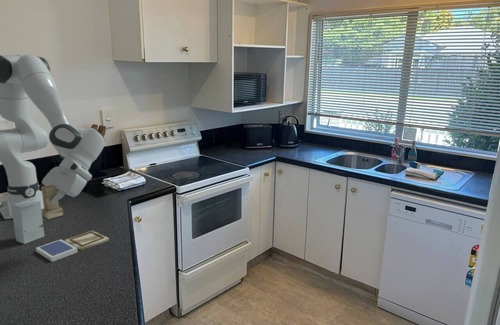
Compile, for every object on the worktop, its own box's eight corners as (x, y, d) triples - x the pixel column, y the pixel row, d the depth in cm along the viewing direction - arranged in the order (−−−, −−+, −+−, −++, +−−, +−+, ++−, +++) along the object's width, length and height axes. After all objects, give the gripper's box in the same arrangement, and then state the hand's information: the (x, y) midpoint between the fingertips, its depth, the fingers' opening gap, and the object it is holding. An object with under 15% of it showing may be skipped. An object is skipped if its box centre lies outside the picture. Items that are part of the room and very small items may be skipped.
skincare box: (24, 244, 139) (18, 207, 136) (15, 241, 142) (9, 204, 139) (45, 236, 146) (41, 200, 143) (36, 233, 149) (31, 198, 146)
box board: (65, 241, 142) (65, 238, 142) (92, 232, 150) (92, 229, 150) (81, 250, 135) (81, 247, 134) (109, 240, 143) (108, 237, 143)
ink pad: (36, 251, 134) (35, 247, 133) (61, 242, 141) (60, 238, 140) (52, 261, 127) (51, 257, 126) (77, 252, 134) (77, 247, 133)
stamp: (42, 217, 130) (38, 187, 128) (56, 213, 134) (52, 183, 131) (48, 220, 127) (44, 189, 125) (63, 216, 131) (59, 186, 128)
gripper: (52, 159, 138) (27, 191, 133) (81, 168, 126) (55, 203, 120) (65, 168, 142) (42, 199, 137) (94, 177, 130) (70, 212, 125)
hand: (48, 201), depth 129 cm, fingers closed on stamp, 3 cm apart
